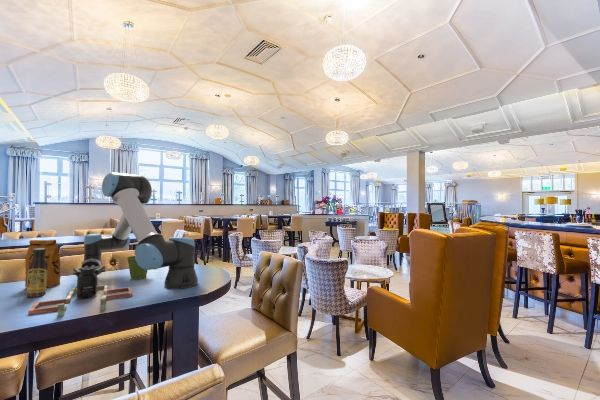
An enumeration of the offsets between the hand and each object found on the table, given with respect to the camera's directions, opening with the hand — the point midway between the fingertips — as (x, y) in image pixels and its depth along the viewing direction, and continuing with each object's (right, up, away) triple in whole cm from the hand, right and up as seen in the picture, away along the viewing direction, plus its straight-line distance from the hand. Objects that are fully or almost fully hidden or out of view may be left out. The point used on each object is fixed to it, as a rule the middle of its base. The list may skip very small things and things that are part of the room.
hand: (86, 277), depth 127 cm
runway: (+6, -7, -8) cm, 12 cm away
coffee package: (-30, -8, +13) cm, 33 cm away
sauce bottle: (-20, -8, -2) cm, 21 cm away
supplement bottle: (+2, -8, -3) cm, 9 cm away
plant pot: (+7, -8, +29) cm, 31 cm away
